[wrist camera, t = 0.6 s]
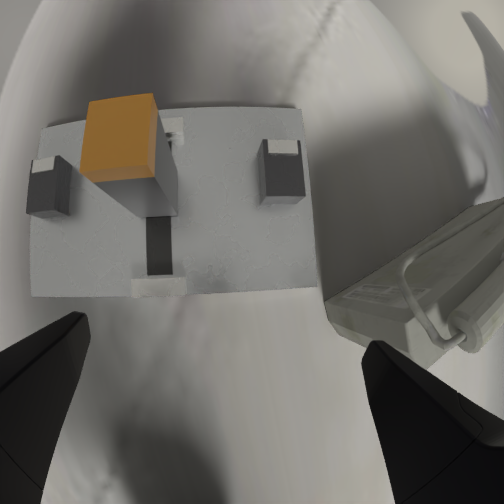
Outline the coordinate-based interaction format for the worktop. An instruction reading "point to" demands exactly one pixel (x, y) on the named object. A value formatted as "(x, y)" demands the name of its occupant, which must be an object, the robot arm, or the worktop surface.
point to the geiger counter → (432, 291)
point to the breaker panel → (180, 212)
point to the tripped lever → (130, 155)
